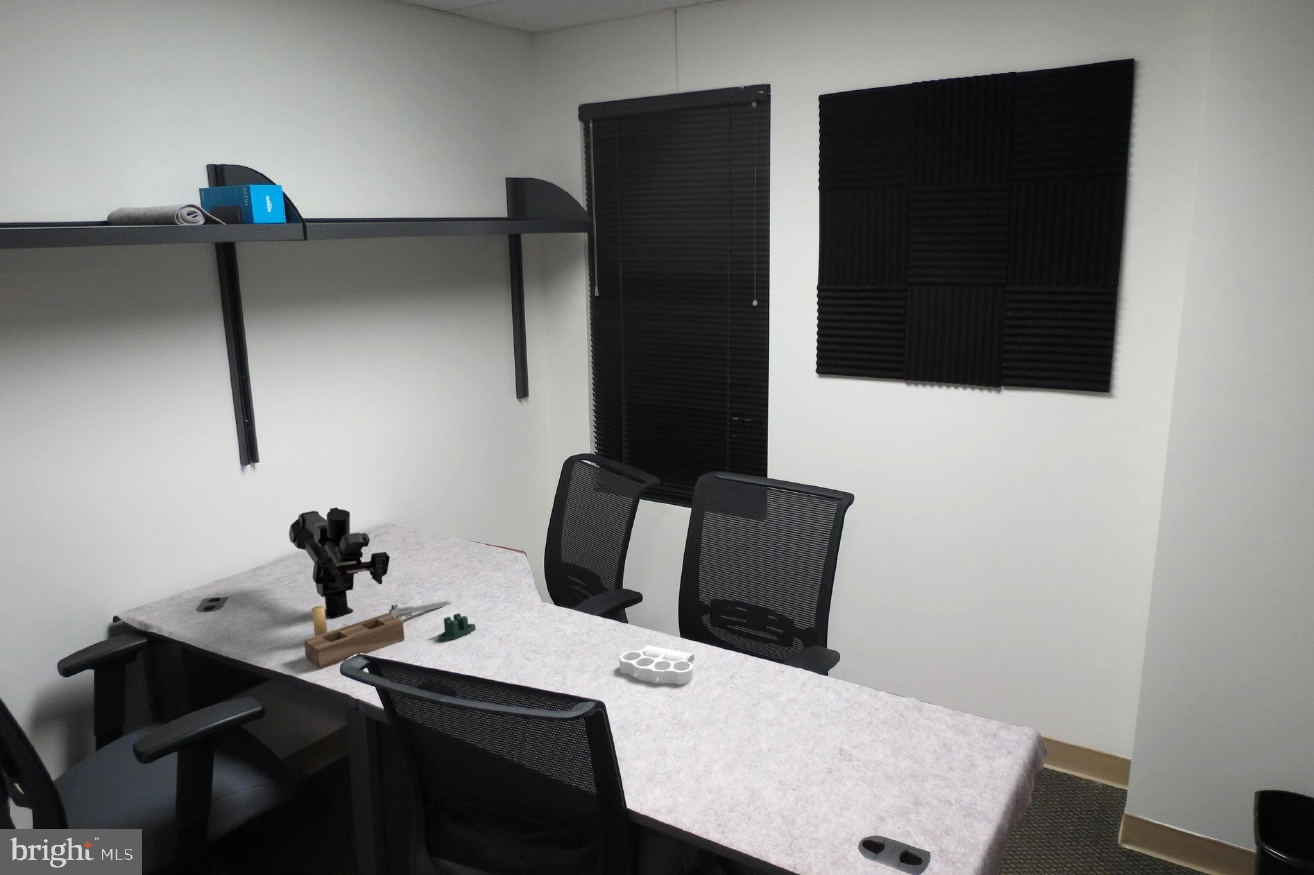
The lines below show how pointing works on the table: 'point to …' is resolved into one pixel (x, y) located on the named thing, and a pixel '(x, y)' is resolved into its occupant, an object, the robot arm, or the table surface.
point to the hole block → (353, 640)
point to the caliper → (414, 609)
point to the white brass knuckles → (658, 665)
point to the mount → (455, 628)
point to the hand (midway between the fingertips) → (363, 585)
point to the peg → (319, 620)
